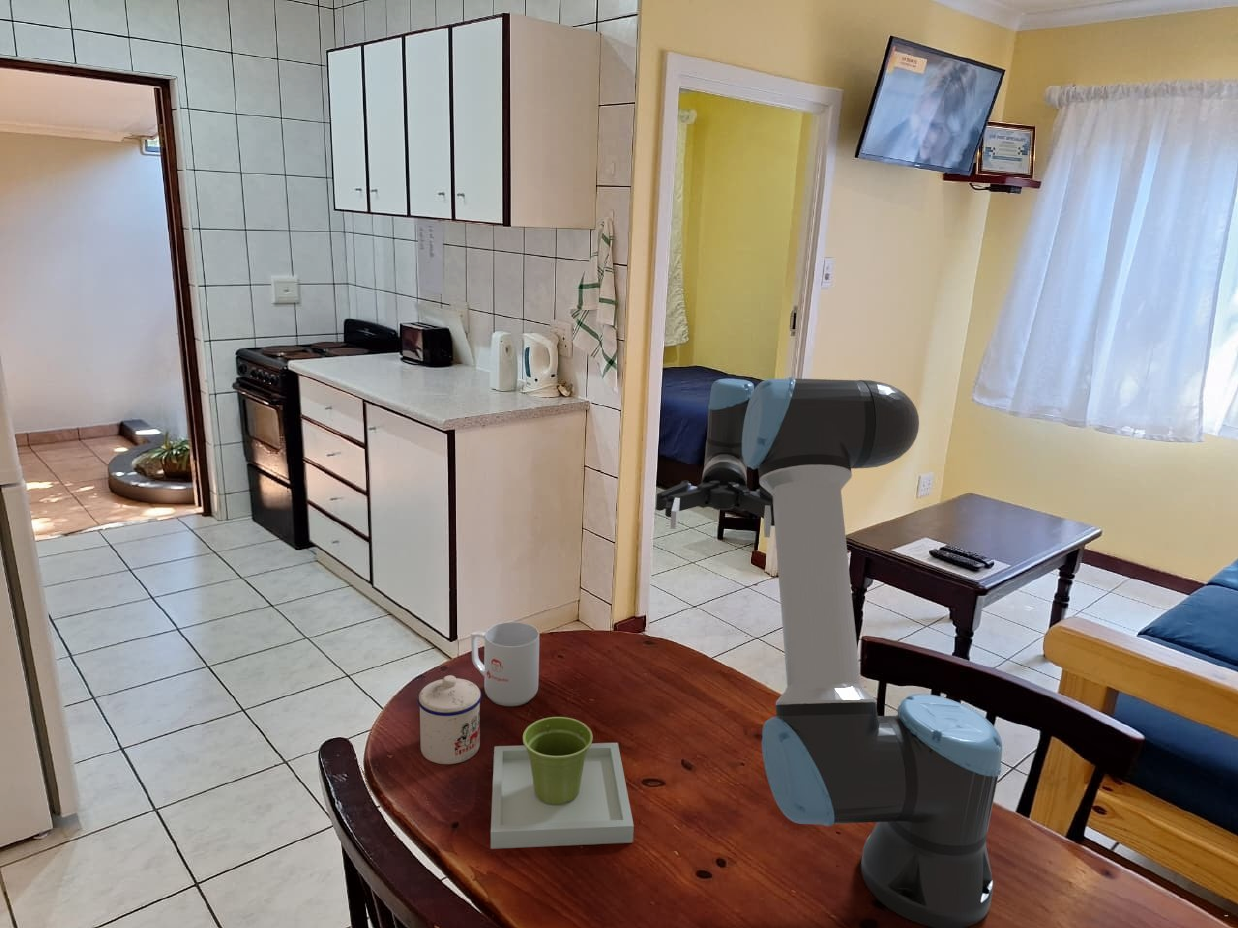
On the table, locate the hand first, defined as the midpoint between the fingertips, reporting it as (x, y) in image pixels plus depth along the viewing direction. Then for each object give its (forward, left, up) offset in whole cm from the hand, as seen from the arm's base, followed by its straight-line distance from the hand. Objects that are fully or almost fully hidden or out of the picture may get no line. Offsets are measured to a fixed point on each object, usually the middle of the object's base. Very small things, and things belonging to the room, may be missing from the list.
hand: (720, 524), depth 123 cm
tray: (-14, +23, -35) cm, 44 cm away
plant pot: (-13, +23, -34) cm, 44 cm away
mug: (+14, +31, -35) cm, 49 cm away
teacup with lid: (0, +38, -35) cm, 52 cm away
